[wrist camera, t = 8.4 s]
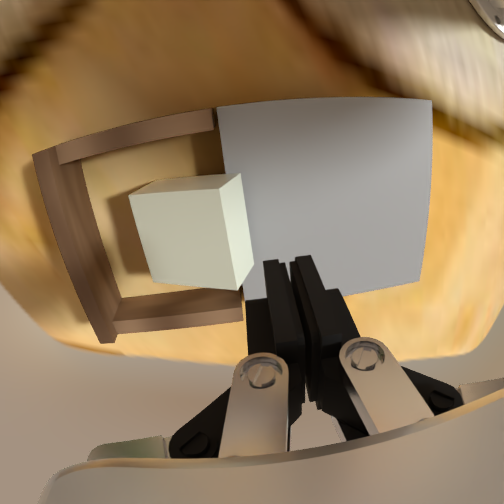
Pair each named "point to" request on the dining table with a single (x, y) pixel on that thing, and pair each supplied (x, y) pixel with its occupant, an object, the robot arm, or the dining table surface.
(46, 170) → the box
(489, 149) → the dining table surface
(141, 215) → the off-white flat block
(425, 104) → the plate
